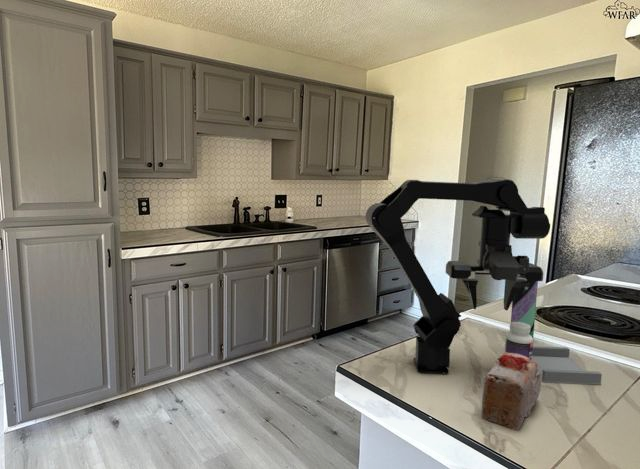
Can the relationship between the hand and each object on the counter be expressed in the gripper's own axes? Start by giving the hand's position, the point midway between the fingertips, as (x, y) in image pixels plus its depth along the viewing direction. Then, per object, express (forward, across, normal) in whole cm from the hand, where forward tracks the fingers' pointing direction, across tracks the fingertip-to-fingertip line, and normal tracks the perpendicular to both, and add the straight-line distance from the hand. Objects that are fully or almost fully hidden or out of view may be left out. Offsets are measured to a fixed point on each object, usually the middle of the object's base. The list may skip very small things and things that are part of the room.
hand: (489, 309), depth 87 cm
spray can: (+13, +14, +17) cm, 26 cm away
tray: (+13, +15, 0) cm, 20 cm away
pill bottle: (+13, +7, 0) cm, 15 cm away
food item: (+13, -1, -17) cm, 22 cm away
